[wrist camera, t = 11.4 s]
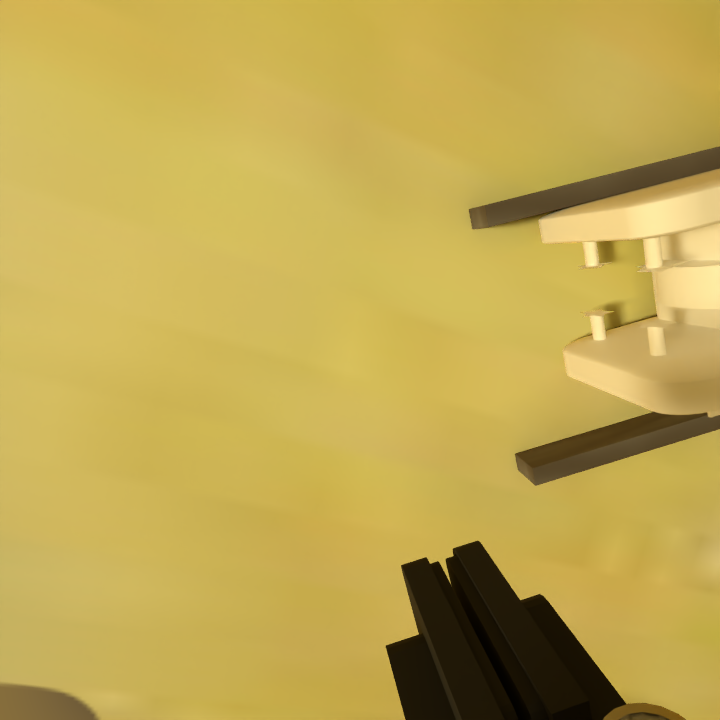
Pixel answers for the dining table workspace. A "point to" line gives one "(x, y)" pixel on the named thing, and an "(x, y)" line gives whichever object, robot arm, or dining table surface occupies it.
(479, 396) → the dining table surface
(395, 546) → the dining table surface
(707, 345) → the cable organizer
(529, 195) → the guide track
